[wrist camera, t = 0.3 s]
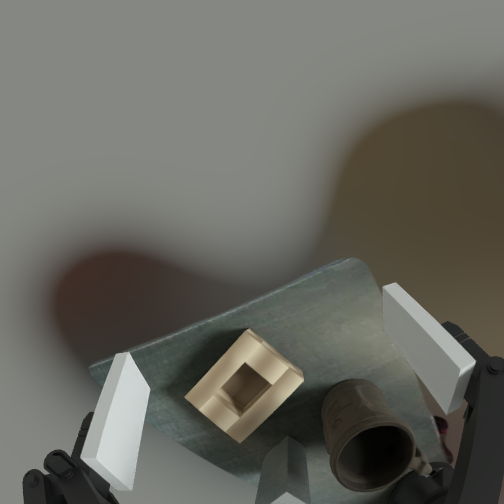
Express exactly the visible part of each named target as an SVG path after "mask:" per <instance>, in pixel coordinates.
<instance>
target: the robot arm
mask: <svg viewBox="0 0 504 504" xmlns="http://www.w3.org/2000/svg"><path fill="white" fill-rule="evenodd" d="M383 330H384V331H385V333H386V334H387V335H388V337H389V338H390V339H391V340H392V342H393V343H394V344H395V346H396V347H397V348H398V349H399V351H400V352H401V353H402V355H403V356H404V357H405V359H406V360H407V361H408V363H409V364H410V365H411V367H412V368H413V369H414V371H415V372H416V373H417V375H418V376H419V377H420V379H421V380H422V381H423V383H424V384H425V385H426V387H427V388H428V390H429V391H430V392H431V394H432V395H433V397H434V398H435V399H436V401H437V402H438V404H439V405H440V406H441V408H442V409H443V411H444V412H445V413H446V414H449V413H450V412H452V411H454V410H456V409H458V408H459V407H461V404H462V402H463V399H465V400H466V401H467V402H468V406H467V408H466V411H465V413H464V416H463V418H465V422H464V428H463V434H462V439H461V443H460V448H459V453H458V457H457V462H456V465H455V469H454V468H453V467H452V466H451V465H449V464H448V463H444V462H434V463H430V466H431V467H432V471H431V472H430V473H429V474H427V475H419V474H418V473H417V472H416V471H415V470H414V471H413V472H411V473H410V474H408V475H407V476H406V477H405V478H403V479H402V480H401V481H400V482H399V483H398V485H397V486H396V487H395V488H394V490H393V491H392V493H391V495H390V498H389V502H388V504H498V500H499V495H500V491H501V486H502V480H503V475H504V359H502V358H501V357H497V356H494V357H490V356H488V354H486V353H485V352H484V351H483V350H482V349H481V348H480V347H479V346H478V345H477V344H476V343H475V342H474V341H473V340H472V339H470V337H469V336H468V335H467V334H466V333H464V331H462V329H461V328H460V327H458V326H457V325H455V324H453V323H451V322H448V321H447V322H445V323H443V324H441V325H440V324H439V323H438V322H437V321H436V320H435V319H434V318H433V317H432V316H431V315H430V314H429V313H428V312H427V311H425V310H424V309H423V308H422V307H421V306H420V305H419V304H418V303H417V302H416V301H415V300H414V299H413V298H412V297H411V296H410V295H408V294H407V293H406V292H405V291H404V290H403V289H402V288H401V287H400V286H399V285H398V284H396V283H392V284H389V285H386V286H384V287H383ZM149 393H150V388H149V386H148V384H147V383H146V381H145V380H144V378H143V376H142V375H141V373H140V371H139V369H138V368H137V366H136V364H135V363H134V361H133V359H132V357H131V355H130V354H129V352H125V353H119V354H116V355H115V358H114V361H113V363H112V366H111V368H110V371H109V374H108V376H107V379H106V382H105V384H104V387H103V390H102V393H101V395H100V398H99V401H98V404H97V407H96V410H95V412H89V413H88V415H87V416H86V417H85V419H84V420H83V422H82V425H81V428H80V429H81V430H80V431H79V434H78V437H77V440H76V443H75V446H74V449H73V452H72V455H71V457H70V456H69V455H68V454H67V453H66V452H65V451H63V450H54V451H52V452H50V453H49V454H48V455H47V457H46V458H45V460H44V469H45V470H47V471H48V472H49V473H50V474H48V475H44V474H43V473H42V472H41V471H39V470H37V469H32V470H30V471H28V472H27V473H26V474H25V476H24V478H23V496H24V504H119V503H118V501H117V500H116V498H115V497H114V495H113V494H112V493H111V492H110V491H109V488H110V485H111V486H113V487H114V488H115V489H116V490H119V491H133V482H134V477H135V470H136V464H137V457H138V451H139V445H140V440H141V434H142V429H143V423H144V418H145V413H146V408H147V403H148V398H149Z"/></svg>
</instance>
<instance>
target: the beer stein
mask: <svg viewBox="0 0 504 504" xmlns="http://www.w3.org/2000/svg"><path fill="white" fill-rule="evenodd" d="M321 419H322V422H323V434H324V437H325V441H326V448H327V452H328V454H329V455H330V467H331V470H332V473H333V474H334V476H335V477H336V479H337V480H338V482H339V483H340V484H341V485H343V486H344V487H345V488H347V489H349V490H351V491H356V492H373V491H377V490H380V489H383V488H386V487H388V486H390V485H391V484H393V483H394V482H396V481H397V480H399V479H400V478H401V477H402V476H403V475H404V474H405V473H406V472H407V470H408V469H409V468H410V469H413V470H415V471H416V472H417V473H418V474H419V475H427V474H429V473H430V472H431V471H432V467H431V466H430V464H429V463H428V461H427V456H426V454H425V453H424V451H423V450H422V449H421V448H420V447H419V446H418V445H417V444H416V442H415V438H414V434H413V432H412V429H411V428H410V426H409V425H408V424H407V423H406V422H404V421H403V420H402V419H400V418H398V417H396V416H394V414H393V413H392V411H391V410H390V408H389V407H388V405H387V402H386V400H385V398H384V396H383V394H382V392H381V390H380V389H379V388H378V387H377V386H376V385H375V384H373V383H372V382H369V381H367V380H363V379H351V380H347V381H344V382H342V383H340V384H338V385H336V386H335V387H334V388H333V389H332V390H330V392H329V393H328V394H327V395H326V397H325V399H324V401H323V404H322V408H321Z"/></svg>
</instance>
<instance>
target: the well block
mask: <svg viewBox="0 0 504 504" xmlns="http://www.w3.org/2000/svg"><path fill="white" fill-rule="evenodd" d="M303 381H304V378H303V373H302V371H301V370H300V369H299V368H297V367H296V366H295V365H294V364H292V363H291V362H290V361H289V360H288V359H286V358H285V357H284V356H283V355H282V354H280V353H279V352H278V351H277V350H276V349H275V348H273V347H272V346H271V345H270V344H269V343H267V342H266V341H265V340H264V339H263V338H262V337H260V336H259V335H258V334H257V333H256V332H255V331H253V330H252V329H251V328H249V329H247V330H246V331H245V332H244V333H243V334H242V335H241V336H240V337H239V338H238V339H237V341H236V342H235V343H234V344H233V345H232V346H231V347H230V348H229V349H228V351H227V352H226V353H225V354H224V355H223V356H222V357H221V358H220V359H219V360H218V362H217V363H216V364H215V365H214V366H213V367H212V368H211V369H210V370H209V371H208V372H207V373H206V375H205V376H204V377H203V378H202V379H201V380H200V381H199V382H198V383H197V384H196V385H195V386H194V387H193V388H192V390H191V391H190V392H189V393H188V394H187V395H186V396H185V398H186V399H187V400H188V401H189V402H190V403H191V404H193V405H194V406H195V407H196V408H197V409H198V410H199V411H201V412H202V413H203V414H204V415H205V416H206V417H208V418H209V419H210V420H211V421H212V422H213V423H215V424H216V425H217V426H218V427H219V428H221V429H222V430H223V431H224V432H226V433H227V434H228V435H229V436H231V437H232V438H233V439H234V440H236V441H237V442H238V443H241V442H242V441H243V440H244V439H245V438H246V437H248V436H249V435H250V434H251V433H252V432H253V431H254V430H255V429H256V428H257V427H258V426H259V425H260V424H261V423H263V422H264V421H265V420H266V419H267V418H268V417H269V416H270V415H271V414H272V413H273V412H274V411H275V410H276V409H277V408H278V407H279V406H280V405H281V404H282V403H283V402H284V401H285V400H286V399H287V398H288V397H289V396H290V395H291V394H292V393H293V392H294V391H295V389H296V388H297V387H298V386H299V385H300V384H301V383H302V382H303Z"/></svg>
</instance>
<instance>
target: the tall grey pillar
mask: <svg viewBox="0 0 504 504" xmlns="http://www.w3.org/2000/svg"><path fill="white" fill-rule="evenodd" d="M255 504H311V500H310V490H309V479H308V469H307V460H306V450H305V447H304V446H303V445H301V444H300V443H299V442H297V441H296V440H294V439H293V438H292V437H290V436H289V435H287V436H286V437H285V438H284V439H283V440H282V441H280V442H279V443H278V444H277V445H276V446H275V447H274V448H273V449H272V450H270V451H269V452H268V453H267V454H266V455H265V456H264V459H263V464H262V470H261V475H260V480H259V485H258V491H257V495H256V501H255Z"/></svg>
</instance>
